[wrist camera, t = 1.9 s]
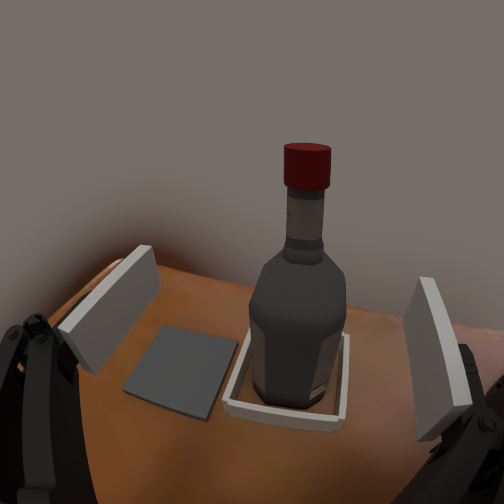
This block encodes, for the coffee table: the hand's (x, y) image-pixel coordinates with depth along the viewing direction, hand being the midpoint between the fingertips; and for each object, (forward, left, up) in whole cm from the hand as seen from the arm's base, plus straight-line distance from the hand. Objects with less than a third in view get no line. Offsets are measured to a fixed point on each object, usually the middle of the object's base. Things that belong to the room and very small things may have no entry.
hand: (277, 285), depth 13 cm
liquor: (0, -11, -26) cm, 28 cm away
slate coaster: (+15, -10, -26) cm, 31 cm away
